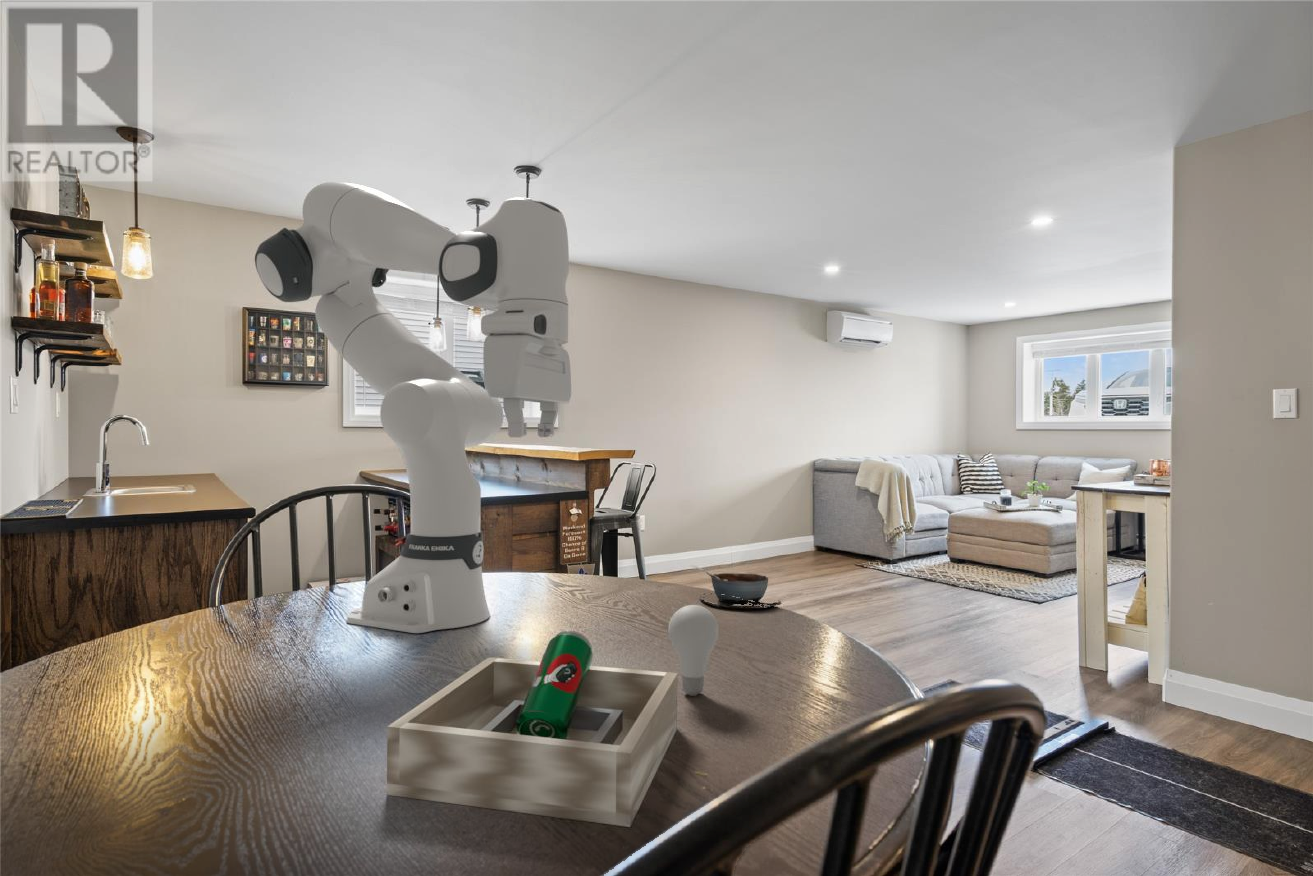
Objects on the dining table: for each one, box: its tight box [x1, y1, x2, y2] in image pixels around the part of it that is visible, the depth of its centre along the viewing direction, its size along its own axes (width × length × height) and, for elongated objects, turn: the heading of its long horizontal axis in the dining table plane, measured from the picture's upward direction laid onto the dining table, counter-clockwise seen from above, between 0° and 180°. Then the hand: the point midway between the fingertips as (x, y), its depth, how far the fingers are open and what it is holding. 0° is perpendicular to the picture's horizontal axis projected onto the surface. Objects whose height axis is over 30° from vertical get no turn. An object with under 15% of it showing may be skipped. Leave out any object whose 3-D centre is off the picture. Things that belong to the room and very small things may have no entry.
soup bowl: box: [690, 564, 782, 610], centre depth 134 cm, size 15×16×7 cm
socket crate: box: [386, 657, 679, 828], centre depth 71 cm, size 22×20×6 cm
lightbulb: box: [667, 604, 720, 697], centre depth 88 cm, size 6×6×11 cm
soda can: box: [516, 630, 594, 740], centre depth 74 cm, size 5×5×12 cm
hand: (532, 437), depth 92 cm, fingers open, 8 cm apart
